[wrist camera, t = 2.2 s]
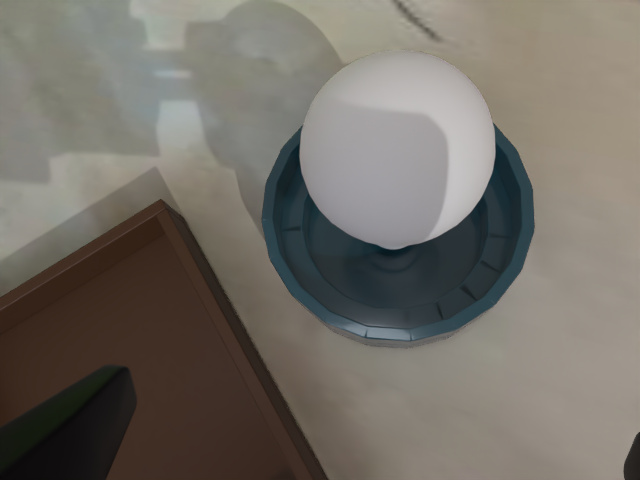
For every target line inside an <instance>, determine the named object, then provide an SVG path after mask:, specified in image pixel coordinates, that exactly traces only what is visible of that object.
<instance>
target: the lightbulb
mask: <svg viewBox="0 0 640 480" xmlns="http://www.w3.org/2000/svg"><path fill="white" fill-rule="evenodd" d="M299 157H300V164H301V172H302V175H303V178H304V181H305V184H306V186H307V189H308V192H309V194H310V196H311V198H312V199H313V201H314V203H315V204H316V206H317V207H318V209H319V210H320V211H321V212H322V213H323V215H324V216H325V217H326V218H327V219H328V220H329V221H330V222H331V223H333V224H334V225H335V226H337V227H338V228H340V229H341V230H343V231H344V232H346V233H347V234H349V235H350V236H353V237H355V238H357V239H360V240H362V241H364V242H367V243H372V244H376V245H378V246H380V247H382V248H385V249H394V250H395V249H401V248H404V247H406V246H408V245H414V244H420V243H422V242H425V241H428V240H430V239H433V238H436V237H438V236H440V235H441V234H443V233H445V232H446V231H448V230H450V229H451V228H453V227H455V226H456V225H458V224H459V223H460V222H461V221H462V220H463V219H464V218H465V217H466V216H467V215H468V214H470V213H471V211H472V210H473V209H474V207H475V206H476V204H477V203H478V202H479V200H480V199H481V197H482V195H483V193H484V191H485V189H486V187H487V184H488V182H489V180H490V177H491V175H492V172H493V166H494V161H495V129H494V126H493V122H492V118H491V115H490V112H489V109H488V106H487V104H486V102H485V100H484V98H483V97H482V95H481V93H480V91H479V90H478V88H477V87H476V86H475V85H474V84H473V82H472V81H471V80H470V79H469V78H468V77H467V76H466V75H464V74H463V73H462V72H461V71H459V70H458V69H457V68H456V67H454V66H453V65H451V64H450V63H448V62H446V61H444V60H442V59H440V58H438V57H436V56H433V55H430V54H427V53H424V52H419V51H412V50H387V51H382V52H377V53H373V54H370V55H367V56H365V57H362V58H359V59H357V60H355V61H354V62H352V63H350V64H349V65H347V66H345V67H344V68H342V69H341V70H340V71H338V72H337V73H336V74H335V75H334V76H333V77H331V78H330V79H329V80H328V81H327V82H326V83H325V84H324V86H323V87H322V88H321V89H320V90H319V92H318V93H317V94H316V96H315V98H314V100H313V102H312V104H311V105H310V107H309V109H308V112H307V114H306V117H305V121H304V124H303V127H302V131H301V140H300V155H299Z"/></svg>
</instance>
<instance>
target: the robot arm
mask: <svg viewBox="0 0 640 480" xmlns="http://www.w3.org/2000/svg"><path fill="white" fill-rule="evenodd" d="M136 405H137V395H136V391H135V387H134V383H133V379H132V375H131V371H130V369H129V368H128V367H127V366H123V365H115V364H107V365H104V366H102V367H100V368H99V369H97V370H95V371H94V372H92V373H90V374H89V375H87V376H85V377H84V378H82V379H80V380H79V381H77V382H75V383H74V384H72V385H70V386H68V387H67V388H65V389H63V390H62V391H60V392H58V393H57V394H55V395H53V396H52V397H50V398H48V399H47V400H45V401H43V402H42V403H40V404H38V405H37V406H35V407H33V408H32V409H30V410H28V411H26V412H25V413H23V414H21V415H20V416H18V417H16V418H15V419H13V420H11V421H10V422H8V423H6V424H5V425H3V426H1V427H0V480H106V478H107V476H108V474H109V471H110V469H111V467H112V464H113V462H114V459H115V457H116V455H117V452H118V450H119V447H120V445H121V443H122V440H123V438H124V435H125V433H126V431H127V428H128V426H129V424H130V421H131V419H132V416H133V414H134V412H135V409H136ZM624 479H625V480H640V432H639V433H638V434H637V435H636V437H635V439H634V442H633V444H632V446H631V449H630V451H629V454H628V456H627V458H626V461H625V464H624Z"/></svg>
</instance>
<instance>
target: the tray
mask: <svg viewBox="0 0 640 480" xmlns="http://www.w3.org/2000/svg"><path fill="white" fill-rule="evenodd" d="M107 364H115V365H123V366H127V367H128V368H129V369H130V371H131V375H132V379H133V383H134V387H135V391H136V395H137V405H136V409H135V412H134V414H133V416H132V419H131V421H130V424H129V426H128V428H127V431H126V433H125V435H124V438H123V440H122V443H121V445H120V447H119V450H118V452H117V455H116V457H115V459H114V462H113V464H112V467H111V469H110V471H109V474H108V476H107V478H106V480H327V478H326V476H325V475H324V473H323V471H322V469H321V467H320V465H319V464H318V462H317V460H316V458H315V456H314V455H313V453H312V451H311V449H310V447H309V446H308V444H307V442H306V440H305V438H304V436H303V435H302V433H301V431H300V429H299V427H298V426H297V424H296V422H295V420H294V418H293V417H292V415H291V413H290V411H289V409H288V408H287V406H286V404H285V402H284V400H283V398H282V397H281V395H280V393H279V391H278V389H277V388H276V386H275V384H274V382H273V380H272V379H271V377H270V375H269V373H268V371H267V370H266V368H265V366H264V364H263V362H262V360H261V359H260V357H259V355H258V353H257V351H256V350H255V348H254V346H253V344H252V342H251V341H250V339H249V337H248V335H247V333H246V332H245V330H244V328H243V326H242V324H241V322H240V321H239V319H238V317H237V315H236V313H235V312H234V310H233V308H232V306H231V304H230V303H229V301H228V299H227V297H226V295H225V293H224V292H223V290H222V288H221V286H220V284H219V283H218V281H217V279H216V277H215V275H214V274H213V272H212V270H211V268H210V266H209V265H208V263H207V261H206V259H205V257H204V255H203V254H202V252H201V250H200V248H199V246H198V245H197V243H196V241H195V239H194V237H193V236H192V234H191V232H190V230H189V228H188V227H187V225H186V223H185V221H184V219H183V217H182V216H181V215H179V214H178V213H177V212H176V211H175V210H173V209H172V208H171V207H170V206H169V205H168V204H166V203H165V202H164V201H163V200H162V199H160V200H158V201H157V202H155V203H153V204H152V205H150V206H149V207H147V208H145V209H144V210H142V211H140V212H139V213H137V214H136V215H134V216H132V217H131V218H129V219H127V220H126V221H124V222H122V223H121V224H119V225H118V226H116V227H114V228H113V229H111V230H109V231H108V232H106V233H105V234H103V235H101V236H100V237H98V238H96V239H95V240H93V241H92V242H90V243H88V244H87V245H85V246H83V247H82V248H80V249H79V250H77V251H75V252H74V253H72V254H70V255H69V256H67V257H65V258H64V259H62V260H61V261H59V262H57V263H56V264H54V265H52V266H51V267H49V268H48V269H46V270H44V271H43V272H41V273H39V274H38V275H36V276H35V277H33V278H31V279H30V280H28V281H26V282H25V283H23V284H22V285H20V286H18V287H17V288H15V289H13V290H12V291H10V292H8V293H7V294H5V295H4V296H2V297H0V427H1V426H3V425H5V424H6V423H8V422H10V421H11V420H13V419H15V418H16V417H18V416H20V415H21V414H23V413H25V412H26V411H28V410H30V409H32V408H33V407H35V406H37V405H38V404H40V403H42V402H43V401H45V400H47V399H48V398H50V397H52V396H53V395H55V394H57V393H58V392H60V391H62V390H63V389H65V388H67V387H68V386H70V385H72V384H74V383H75V382H77V381H79V380H80V379H82V378H84V377H85V376H87V375H89V374H90V373H92V372H94V371H95V370H97V369H99V368H100V367H102V366H104V365H107Z"/></svg>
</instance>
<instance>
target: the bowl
mask: <svg viewBox="0 0 640 480" xmlns="http://www.w3.org/2000/svg"><path fill="white" fill-rule="evenodd" d="M493 126H494V129H495V161H494V166H493V172H492V175H491V177H490V180H489V182H488V184H487V187H486V189H485V191H484V193H483V195H482V197H481V199H480V200H479V202H478V203H477V204H476V206H475V207H474V209H473V210H472V211H471V213H470V214H468V215H467V216H466V217H465V218H464V219H463V220H462V221H461V222H460V223H459V224H458V225H456V226H455V227H453V228H451V229H450V230H448V231H446V232H445V233H443V234H441V235H440V236H438V237H436V238H433V239H430V240H428V241H425V242H422V243H420V244H414V245H408V246H406V247H404V248H401V249H395V250H394V249H385V248H382V247H380V246H378V245H376V244H372V243H367V242H364V241H362V240H360V239H357V238H355V237H353V236H350V235H349V234H347V233H346V232H344V231H343V230H341V229H340V228H338V227H337V226H335V225H334V224H333V223H331V222H330V221H329V220H328V219H327V218H326V217H325V216H324V215H323V213H322V212H321V211H320V210H319V209H318V207H317V206H316V204H315V203H314V201H313V199H312V198H311V196H310V194H309V192H308V189H307V186H306V184H305V181H304V178H303V175H302V172H301V164H300V157H299V155H300V140H301V131H302V127H303V125H302V126H301V128H300V129H299V130H298V131H297V132H296V133H295V134H294V135H293V136H292V138H291V139H290V140H289V141H288V142H287V143H286V144H285V145H284V146H283V148H282V149H281V151H280V153H279V156H278V158H277V160H276V162H275V164H274V166H273V169H272V171H271V173H270V175H269V177H268V179H267V182H266V185H265V194H264V202H263V211H262V226H263V231H264V235H265V240H266V245H267V249H268V254H269V258H270V261H271V262H272V264H273V266H274V267H275V269H276V271H277V272H278V274H279V276H280V277H281V279H282V281H283V282H284V284H285V286H286V287H287V289H288V291H289V292H290V294H291V295H292V296H293V297H294V298H295V299H296V300H297V301H298V302H299V303H300V304H301V305H302V306H303V307H304V308H305V309H306V310H307V311H309V312H310V313H311V314H312V315H313V316H315V317H316V318H317V319H318V320H319V321H320V322H322V323H323V324H324V325H325V326H326V327H328V328H329V329H330V330H332V331H333V332H335V333H337V334H340V335H342V336H345V337H347V338H350V339H352V340H355V341H357V342H360V343H362V344H365V345H369V346H377V347H391V348H406V349H407V348H408V347H409V348H413V347H417V346H421V345H424V344H428V343H432V342H436V341H440V340H444V339H446V338H449V337H451V336H452V335H454V334H455V333H457V332H458V331H460V330H461V329H463V328H465V327H466V326H468V325H469V324H471V323H472V322H474V321H475V320H477V319H478V318H480V317H481V316H482V315H483V314H485V313H486V312H487V311H488V310H489V309H491V308H492V307H493V306H494V305H495V304H496V303H497V302H498V301H499V299H500V298H501V297H502V295H503V294H504V293H505V291H506V290H507V289H508V288H509V286H510V285H511V284H512V282H513V281H514V280H515V279H516V277H517V276H518V275H519V273H520V272H521V270H522V268H523V265H524V262H525V259H526V256H527V252H528V249H529V246H530V243H531V240H532V237H533V233H534V228H535V225H534V203H533V189H532V185H531V183H530V180H529V178H528V175H527V173H526V171H525V168H524V166H523V163H522V161H521V158H520V156H519V154H518V151H517V150H516V148H515V147H514V146H513V145H512V144H511V143H510V141H509V140H508V139H507V138H506V137H505V136H504V135H503V133H502V132H501V131H500V130H499V129H498V128H497V127H496V125H495V124H494V123H493Z"/></svg>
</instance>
